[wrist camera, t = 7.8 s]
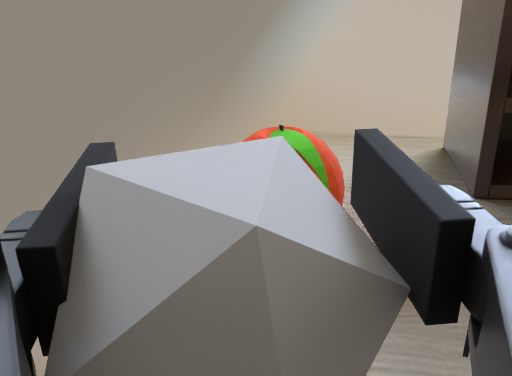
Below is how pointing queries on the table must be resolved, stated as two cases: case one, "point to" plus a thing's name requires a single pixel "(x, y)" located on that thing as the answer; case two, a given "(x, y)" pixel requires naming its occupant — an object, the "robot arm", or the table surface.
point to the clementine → (310, 156)
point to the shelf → (482, 99)
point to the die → (220, 271)
